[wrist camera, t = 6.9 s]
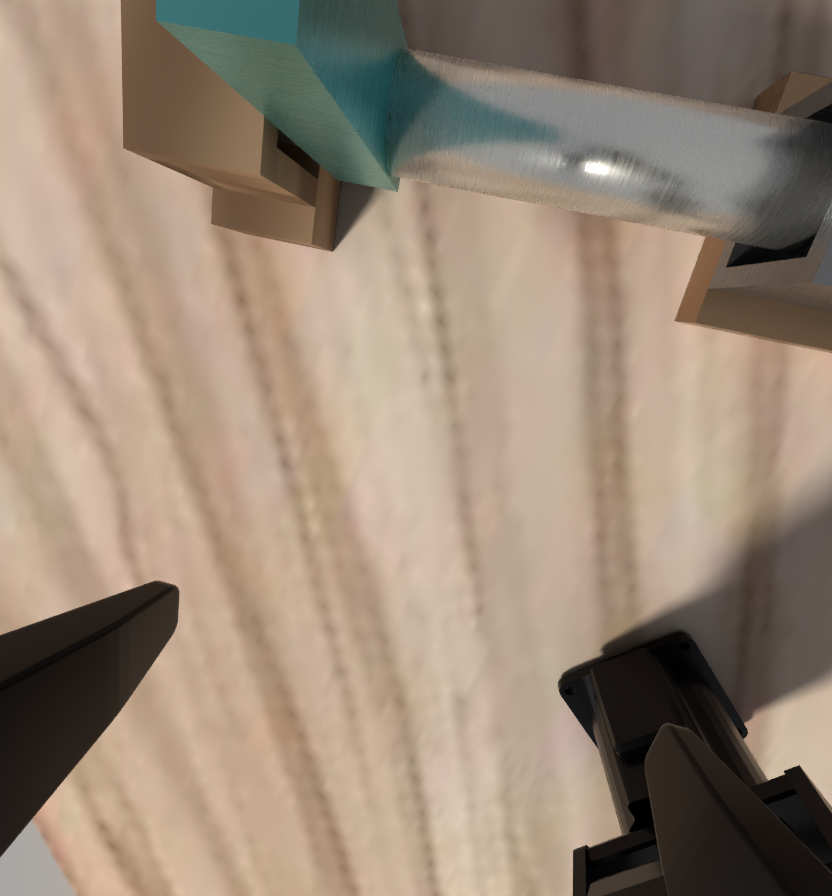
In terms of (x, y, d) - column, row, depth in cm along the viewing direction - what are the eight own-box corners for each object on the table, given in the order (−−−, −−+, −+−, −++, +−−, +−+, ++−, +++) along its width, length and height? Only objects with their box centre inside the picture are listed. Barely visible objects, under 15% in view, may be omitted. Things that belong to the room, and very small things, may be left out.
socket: (360, 26, 15) (283, -160, 9) (332, 251, 17) (256, 224, 11) (259, 8, 15) (117, -184, 9) (245, 233, 17) (124, 197, 11)
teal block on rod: (910, 166, 12) (1723, -86, 4) (855, 280, 13) (1434, 248, 5) (269, 51, 13) (-42, -328, 5) (261, 165, 14) (-13, -10, 6)
